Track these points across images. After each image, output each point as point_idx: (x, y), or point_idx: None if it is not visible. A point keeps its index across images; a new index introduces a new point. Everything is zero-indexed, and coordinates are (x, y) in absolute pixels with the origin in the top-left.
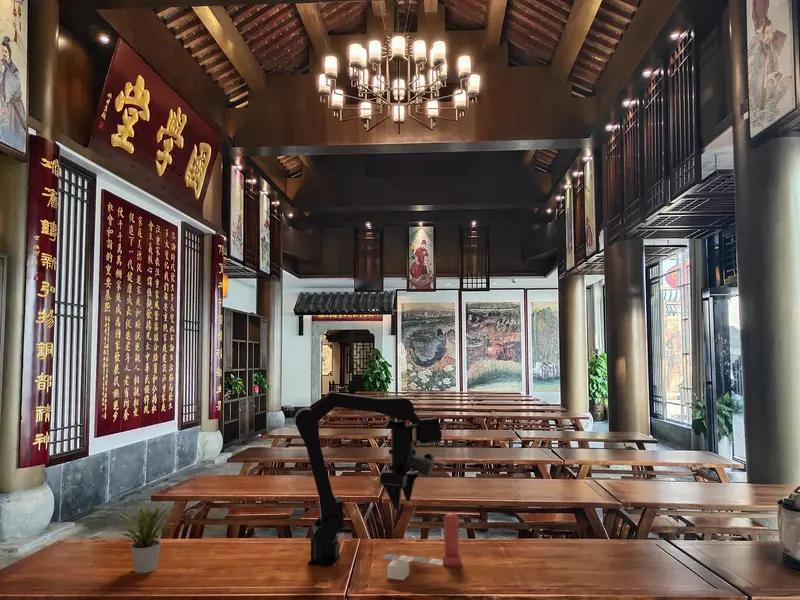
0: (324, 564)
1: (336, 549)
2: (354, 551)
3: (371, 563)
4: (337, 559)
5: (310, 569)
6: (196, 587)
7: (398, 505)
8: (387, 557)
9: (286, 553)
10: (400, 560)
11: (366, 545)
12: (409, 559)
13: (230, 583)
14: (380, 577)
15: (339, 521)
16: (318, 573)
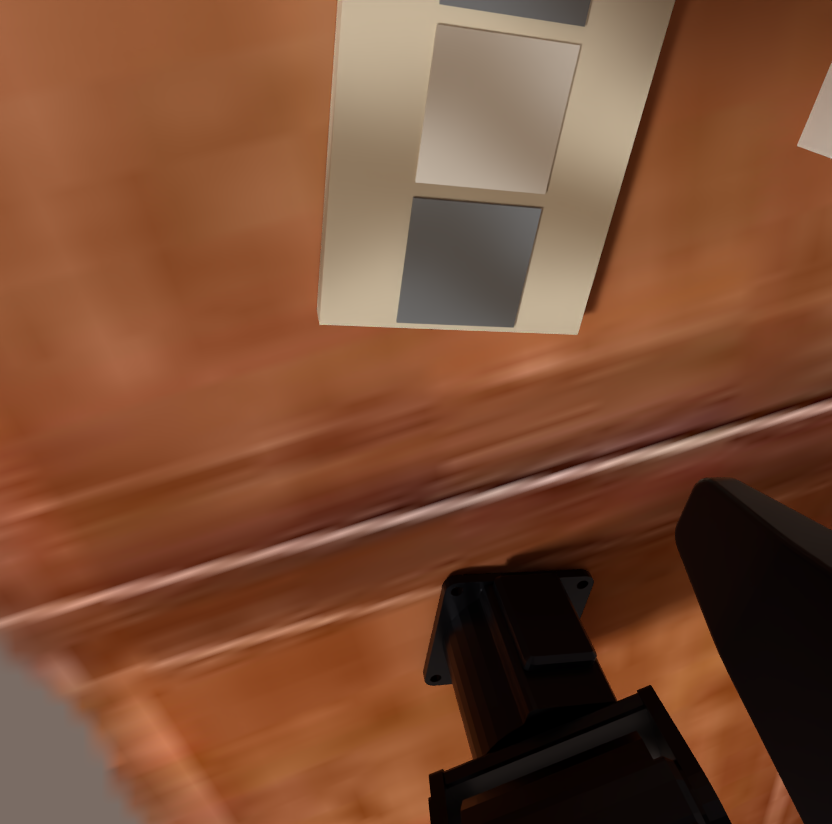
0: (583, 599)
1: (566, 627)
2: (290, 556)
3: (516, 381)
4: (530, 575)
5: (625, 623)
6: (777, 804)
7: (813, 530)
8: (486, 295)
9: (408, 783)
10: (554, 161)
11: (127, 537)
12: (525, 73)
13: (758, 760)
14: (791, 239)
15: (720, 804)
16: (683, 574)
